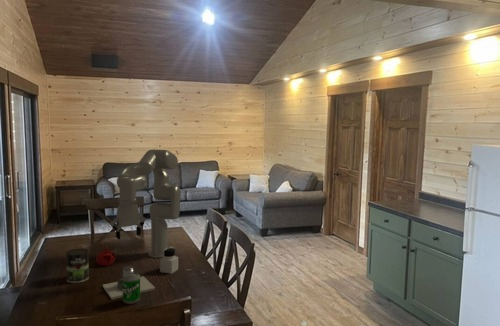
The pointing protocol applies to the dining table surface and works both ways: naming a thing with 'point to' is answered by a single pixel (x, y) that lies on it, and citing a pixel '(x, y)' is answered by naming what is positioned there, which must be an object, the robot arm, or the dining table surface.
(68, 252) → the coffee can
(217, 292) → the dining table surface
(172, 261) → the medicine bottle
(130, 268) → the piston
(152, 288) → the ring board
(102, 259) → the pomegranate
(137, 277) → the soda can
